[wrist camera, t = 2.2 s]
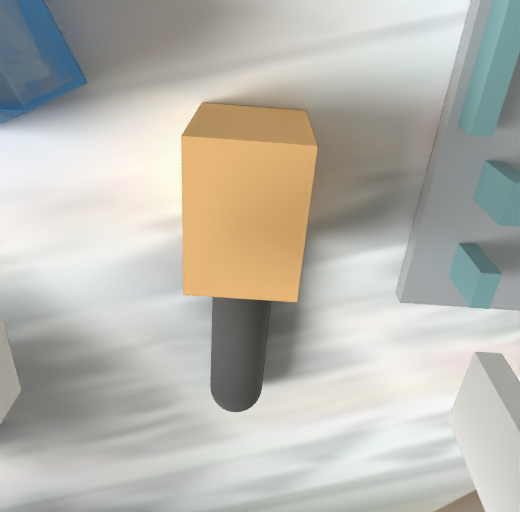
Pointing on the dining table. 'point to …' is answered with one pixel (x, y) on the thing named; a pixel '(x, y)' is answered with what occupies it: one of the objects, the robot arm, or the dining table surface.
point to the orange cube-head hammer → (244, 230)
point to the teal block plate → (473, 175)
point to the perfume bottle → (32, 58)
